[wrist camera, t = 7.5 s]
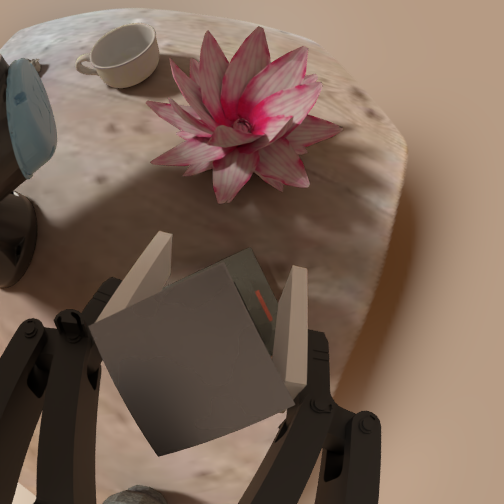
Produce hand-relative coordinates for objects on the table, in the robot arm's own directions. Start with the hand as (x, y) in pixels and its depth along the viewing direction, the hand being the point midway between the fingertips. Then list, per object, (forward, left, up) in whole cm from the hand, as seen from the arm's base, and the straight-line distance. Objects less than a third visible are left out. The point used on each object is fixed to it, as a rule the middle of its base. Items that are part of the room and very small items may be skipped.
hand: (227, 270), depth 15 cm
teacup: (-39, -2, -19) cm, 44 cm away
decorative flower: (-16, +9, -19) cm, 26 cm away
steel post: (+3, -2, -13) cm, 13 cm away
